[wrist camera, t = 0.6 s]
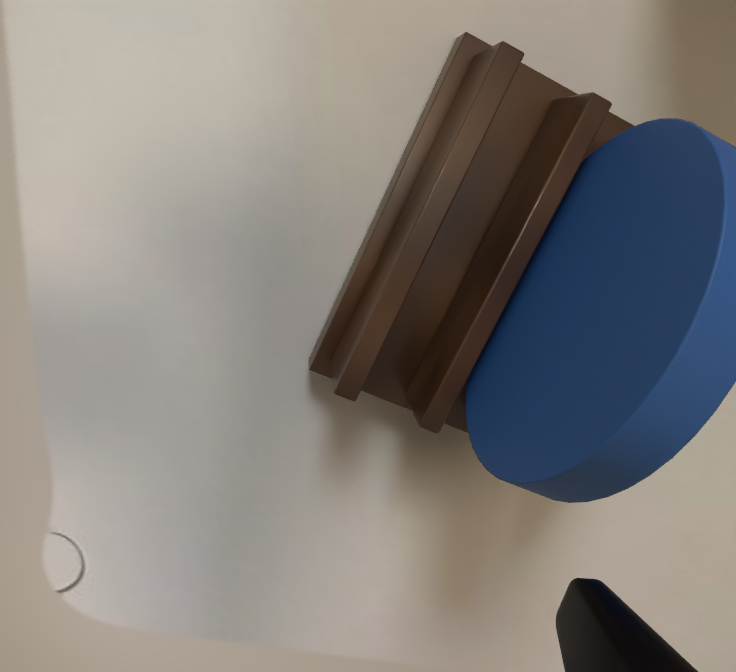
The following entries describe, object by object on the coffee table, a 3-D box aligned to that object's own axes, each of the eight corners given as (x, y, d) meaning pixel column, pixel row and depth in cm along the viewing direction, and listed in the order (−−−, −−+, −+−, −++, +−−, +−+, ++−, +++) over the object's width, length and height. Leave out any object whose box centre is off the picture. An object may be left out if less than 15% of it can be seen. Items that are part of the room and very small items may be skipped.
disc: (472, 410, 25) (607, 593, 14) (437, 395, 25) (548, 572, 14) (610, 147, 23) (887, 136, 12) (573, 127, 22) (826, 98, 12)
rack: (552, 457, 27) (596, 510, 23) (308, 359, 25) (311, 400, 21) (714, 179, 25) (795, 186, 21) (457, 37, 22) (493, 13, 18)
